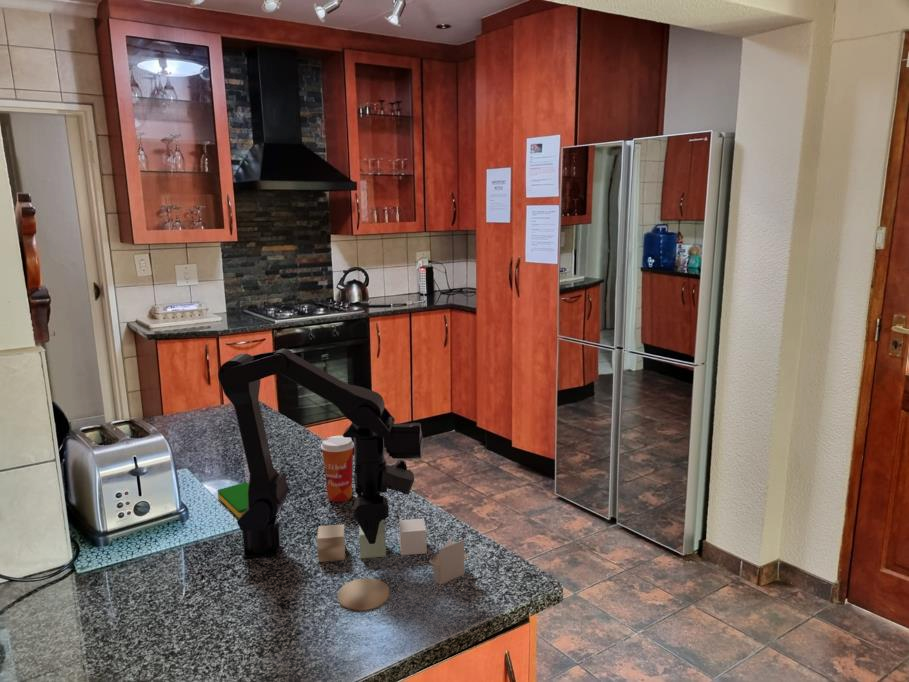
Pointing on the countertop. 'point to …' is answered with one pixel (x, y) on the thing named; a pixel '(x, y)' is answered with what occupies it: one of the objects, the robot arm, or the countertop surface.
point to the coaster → (363, 594)
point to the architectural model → (449, 562)
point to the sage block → (373, 549)
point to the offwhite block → (412, 536)
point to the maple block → (331, 543)
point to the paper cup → (338, 467)
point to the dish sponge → (235, 498)
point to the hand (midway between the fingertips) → (371, 531)
